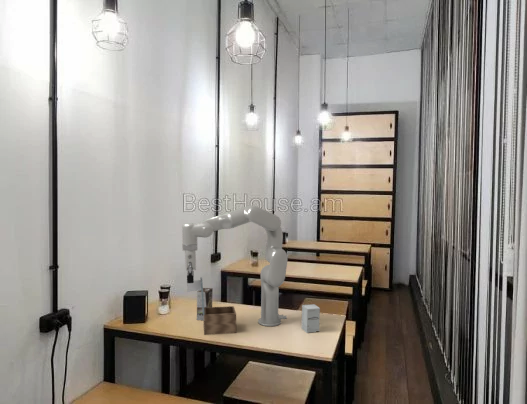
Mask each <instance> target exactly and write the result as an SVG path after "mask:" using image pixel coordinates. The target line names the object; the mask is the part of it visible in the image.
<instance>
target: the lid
mask: <svg viewBox="0 0 527 404" xmlns="http://www.w3.org/2000/svg"><path fill="white" fill-rule="evenodd" d="M203 283H204V282H203V277H200V279H197V280H194V283H187V282H186V292H187V293H188V292H189V293H190V292H197V291H200V290H201V295H202V310H203V315H204V298H203V288H204V286H203V285H204V284H203Z"/></svg>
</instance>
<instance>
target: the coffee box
mask: <svg viewBox="0 0 527 404" xmlns="http://www.w3.org/2000/svg"><path fill="white" fill-rule="evenodd" d="M203 298H204V308H206V307H213V288H212V287H203ZM196 320H197V321H203V322H204V315H203V310H202V295H201V290H200V291H196Z"/></svg>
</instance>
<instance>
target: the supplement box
mask: <svg viewBox="0 0 527 404" xmlns="http://www.w3.org/2000/svg"><path fill="white" fill-rule="evenodd" d="M320 313H321V308H320V307H319V306H318V305H316V304H315V303H314V304H313V303H312V304H301V330H302V331H304V332H305V333H306V334H309V333H317V332H316V331H319V332H320V324H321V323H320V320H321V319H320V317H321V314H320Z"/></svg>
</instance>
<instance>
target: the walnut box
mask: <svg viewBox="0 0 527 404" xmlns="http://www.w3.org/2000/svg"><path fill="white" fill-rule="evenodd" d="M236 333H237V312H236V310H235V306H234V305H233V306H231V305H229V306H212V307H206V308H204V321H203V334H204V336H206V335H208V336H209V335H222V334H226V335H227V334H236Z"/></svg>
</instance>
